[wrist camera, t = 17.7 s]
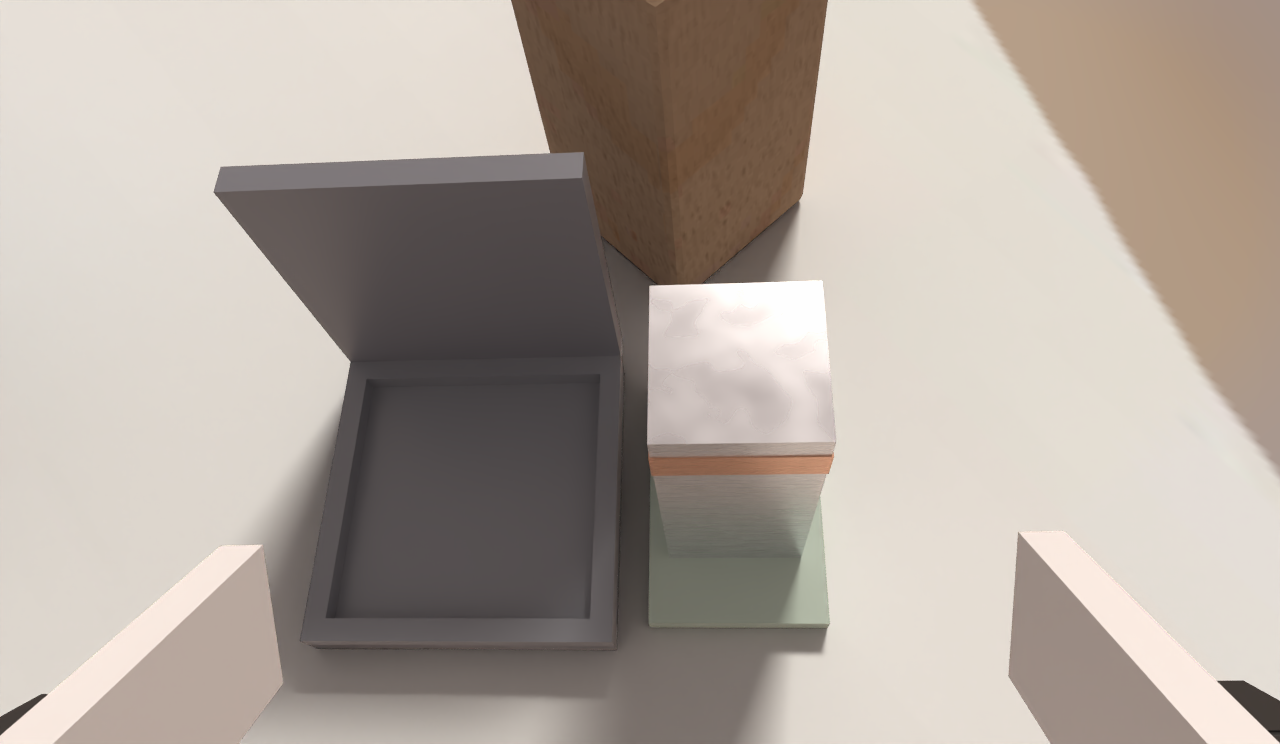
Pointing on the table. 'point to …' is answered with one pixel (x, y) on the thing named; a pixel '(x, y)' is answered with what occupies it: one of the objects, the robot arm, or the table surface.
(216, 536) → the table surface
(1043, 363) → the table surface
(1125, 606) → the robot arm
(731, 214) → the wooden block
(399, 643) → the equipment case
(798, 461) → the block
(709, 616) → the sage board
